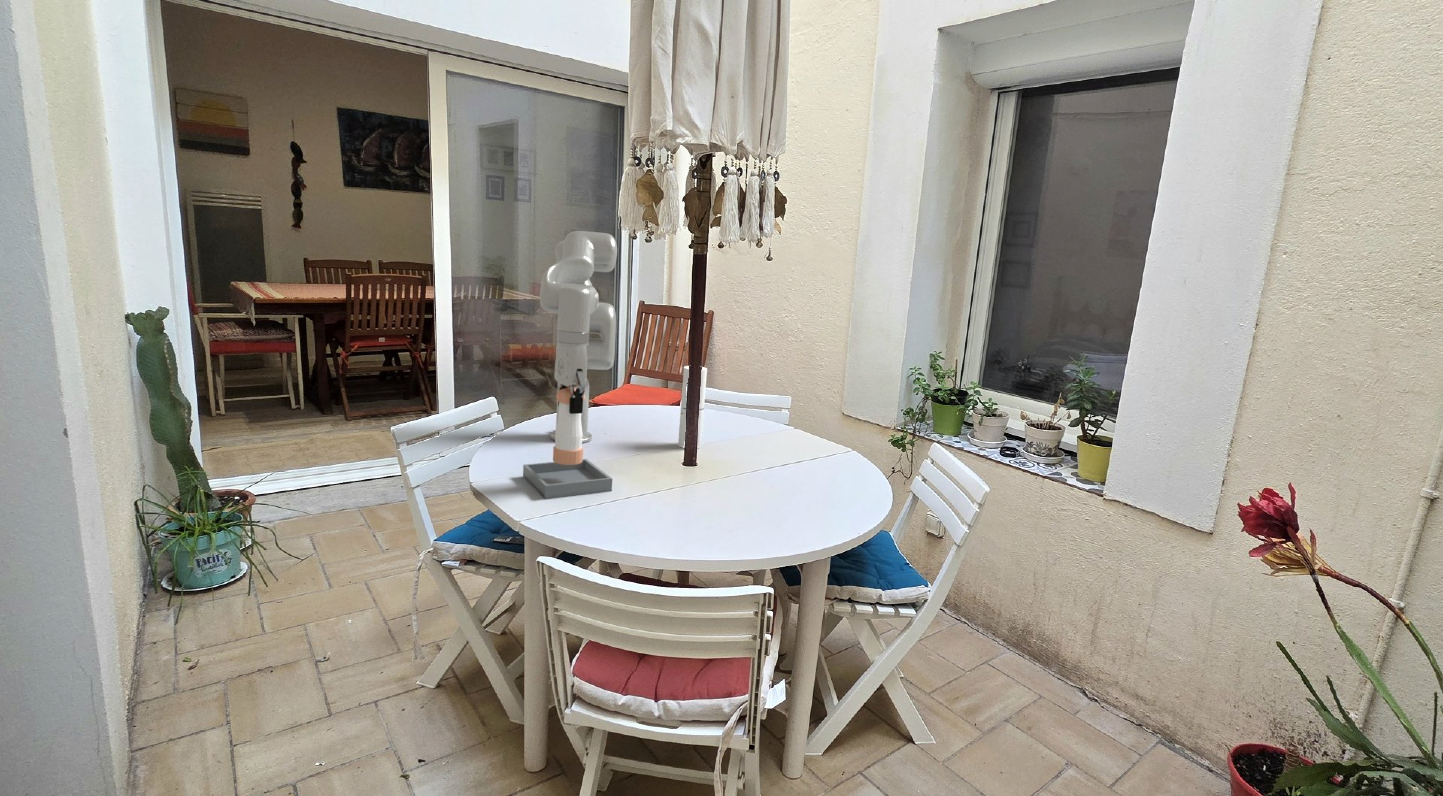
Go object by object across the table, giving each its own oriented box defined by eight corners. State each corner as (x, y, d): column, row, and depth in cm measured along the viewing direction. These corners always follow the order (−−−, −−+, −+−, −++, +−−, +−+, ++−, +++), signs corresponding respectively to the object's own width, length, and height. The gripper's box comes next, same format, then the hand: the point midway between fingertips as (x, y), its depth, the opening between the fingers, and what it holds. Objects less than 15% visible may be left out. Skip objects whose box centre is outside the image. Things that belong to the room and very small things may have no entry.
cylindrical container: (690, 450, 215) (697, 370, 210) (673, 445, 219) (679, 367, 214) (705, 447, 220) (711, 369, 215) (687, 441, 225) (694, 365, 220)
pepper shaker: (578, 455, 180) (582, 382, 176) (585, 464, 174) (589, 388, 170) (550, 457, 177) (552, 382, 173) (556, 465, 170) (559, 389, 167)
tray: (523, 476, 179) (523, 464, 178) (585, 470, 188) (586, 458, 187) (545, 498, 165) (545, 485, 164) (611, 490, 174) (612, 478, 174)
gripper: (545, 333, 174) (543, 402, 178) (571, 343, 160) (568, 418, 163) (574, 333, 178) (571, 401, 182) (601, 343, 164) (598, 417, 168)
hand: (569, 409), depth 173 cm, fingers closed on pepper shaker, 7 cm apart
